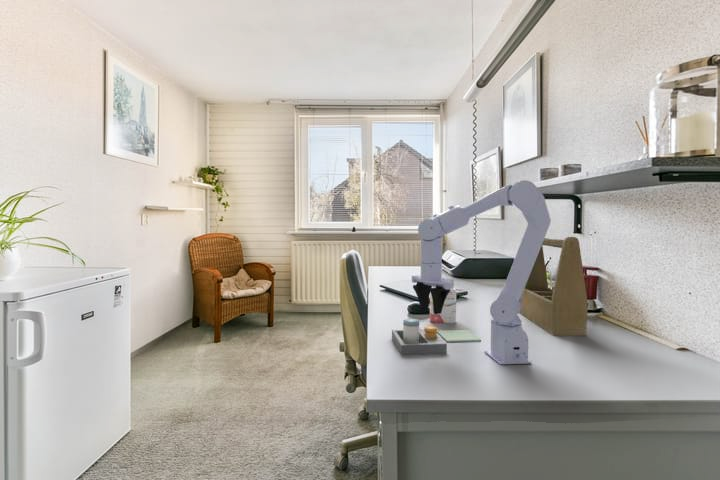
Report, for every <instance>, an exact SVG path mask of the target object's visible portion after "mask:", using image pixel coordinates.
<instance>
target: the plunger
mask: <svg viewBox="0 0 720 480" xmlns="http://www.w3.org/2000/svg"><path fill="white" fill-rule="evenodd" d="M423 329H424V331H425V337H426V338H437V335H438V333H437V331H438V327H436V326H433V325H431V326H430V325H427V326H424V327H423Z"/></svg>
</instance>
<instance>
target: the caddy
mask: <svg viewBox="0 0 720 480" xmlns="http://www.w3.org/2000/svg"><path fill="white" fill-rule="evenodd" d="M543 246H546V247H552V248H558V249H561V251H560V255H559V261H558V265H557V266H558V267H557V269H556V275H555V281H554V285H553V288H551V287H549V283H548V275H547V268H546V261H545V255H544V247H543ZM580 246H581V245H580V241H579V239H578V237H575V236H567V237H565V238H564V239H559V238H557V239H553V238H547V237H545V238H544V241H543V243H542V246H541V248H540V251H539V253H538V256H537V258H536V261H535V263H534V266H533V268H532V271H531V273H530V276H529V278H528V281H527V283H526V286H525V288H524V291H523V294H522V297H521V305H522V306H521V310H520V312H519V313H518V314H520V315H522V316H524V317H525V318H526V319H527V320H529V321H530V322H532V323H533V324H535V325H536V326H538V327H540V328H541V329H542V330H544V331H545V332H547V333H548V334H550V335H551V336H567V337H568V336H570V337H571V336H572V337H573V336H575V337H577V336H578V337H579V336H583V337H584V336H587V333H588V332H587V329H588V327H587V326H588V325H587V324H588V310H589V304H588V296H587V289H586V281H585V274H584V268H583V267H584V266H583V260H582V254H581V247H580Z"/></svg>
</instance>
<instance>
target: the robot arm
mask: <svg viewBox="0 0 720 480" xmlns="http://www.w3.org/2000/svg"><path fill="white" fill-rule="evenodd" d="M546 202H547V201H546V199H545V195H544V194H543V193H542V192H541V190H540V189H539V188H538V187H537V186H536V184H534V183H533V182H532V181H529V180H525V179H523V180H518V181H516V182H514V183H513V184H509V185H505V186H503V187H501V188H499V189H496V190H494V191H493V192H491V193H489V194H487V195H485V196H483V197H482V198H480V199H478V200H476V201H474V202H472V203H469V204H468V205H467V206H464V207H463V206H461V205H456V206H455V205H450V206H449V207H447V208H448V209H447V210H445V211H443V212H441V213H439V214H436V213H435V214H433V215H432V217H433V218H424V219H423V220H422V221H421V222H420V223H419V225H418V228H417V233H418V236H419V237H420V275H418V274H415V275H411V283H416V284H414V285H412V289H413V291H414V293H416V296H417V298H418V299H417V300H418V303H419V307H420V311H427V310H429V307H430V292H431V295H432V299H433V311H434V314H440V313H441V312H442V308H443V304H444V301H445V299H446V297H447V295H448V293H449V292H450V289H453V282H451V281H448V280H445V279H444V278H445V277H442V274H443V271H442V269H443V265H442V264H443V262H442V260H443V256H442V255H443V251H442V250H443V247H442V245H443V244H442V243H443V241H442V240H443V239H442V237H444V235H448V234H450V233H452V232H455V231H456V230H458V229H461V228H463V227H466V226H467V225H468V224H469V222H470V219H471V218H473V217H475V216H478V215H480V214H483V213H485V212H487V211H490V210H492V209H494V208H497V207H499V206H501V207H502V206H507V207H509V206H510V207H511V206H512V207H513V205H514V206H515V207H516V208H517V209H518V210H519V211H521V213H522V215H523V217H524V219H525V220H526V222H527V226H526V228H525V231H524V234H523V237H522V239H521V241H520V244H519V247H518V249H517V252H516V254H515V257H514V259H513V262H512V264H511V267H510V270H509V271H508V275H507V277H506V281H505V282H504V285H503V286H502V289H501V290H500V293H499V295H498V296H497V298H496V299H495V300H494V301H493V302H492V303H491V305H490V306H489V307H490V308H489V311H490V312H489V313H490V316H491V318H490V349H485V350H484V353H485V354H487V355H488V356H489V357H491V359H493V360H494V361H495V362H497V363H498V364H499V365H520V364H521V365H522V364H523V365H524V364H532V361H531V359H529V336H528V333H526V330H524V328H523V326H522V319H521V318H520V317H519V315H518V314H520V313H519V312H520V310H521V306H522V305H521V297H522V294H523V291H524V288H525V286H526V283H527V281H528V278H529V276H530V273H531V271H532V268H533V266H534V263H535V261H536V258H537V256H538V253H539V251H540V248H541V246H543V245H542V243H543V241H544V238H546V235H547V233H548V231H549V229H550V228H549V227H550V225H551V221H552V220H551V219H552V218H551V216H550V212H549V209H548V205H547V203H546ZM432 286H435V287H436V288H431V287H432Z"/></svg>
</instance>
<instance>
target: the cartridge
mask: <svg viewBox="0 0 720 480" xmlns="http://www.w3.org/2000/svg"><path fill="white" fill-rule="evenodd" d="M402 322H403V326H402V330H403V339H402V341H403V343H404V344H418V343H420V341H419V329H420V320H419V319H417V318H406V319H403V321H402Z"/></svg>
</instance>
